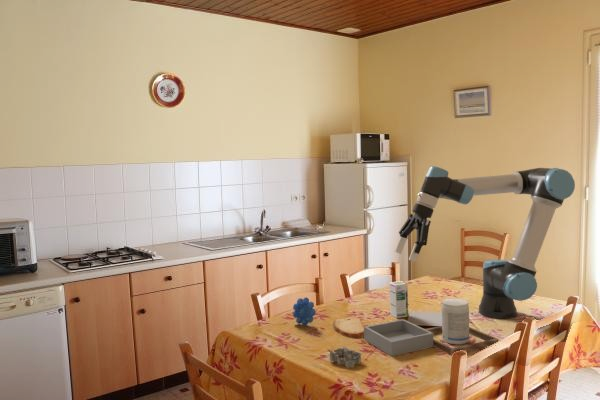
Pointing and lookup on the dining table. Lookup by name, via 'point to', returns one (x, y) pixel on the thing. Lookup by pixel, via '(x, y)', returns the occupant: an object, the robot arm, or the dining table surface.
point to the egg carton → (345, 356)
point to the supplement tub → (455, 321)
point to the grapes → (304, 311)
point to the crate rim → (468, 348)
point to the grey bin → (398, 337)
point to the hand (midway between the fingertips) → (404, 256)
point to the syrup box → (398, 299)
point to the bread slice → (349, 327)
